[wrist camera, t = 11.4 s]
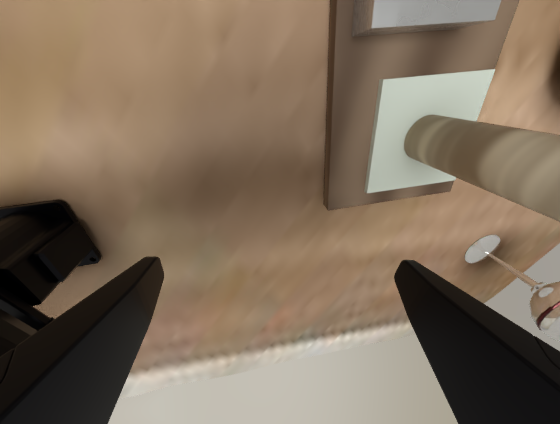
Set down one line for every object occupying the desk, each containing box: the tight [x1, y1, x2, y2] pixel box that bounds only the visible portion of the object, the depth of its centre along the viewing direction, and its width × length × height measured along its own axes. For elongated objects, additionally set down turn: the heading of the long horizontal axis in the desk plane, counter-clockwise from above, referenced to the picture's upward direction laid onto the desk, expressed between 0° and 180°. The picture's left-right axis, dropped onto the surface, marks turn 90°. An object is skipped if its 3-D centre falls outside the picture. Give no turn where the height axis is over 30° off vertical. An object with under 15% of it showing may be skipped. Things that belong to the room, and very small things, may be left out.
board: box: [324, 0, 519, 210], centre depth 16 cm, size 13×22×1 cm, turn 5°
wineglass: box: [465, 235, 560, 342], centre depth 25 cm, size 7×7×12 cm
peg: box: [404, 115, 560, 222], centre depth 12 cm, size 5×5×14 cm
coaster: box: [364, 69, 495, 193], centre depth 18 cm, size 9×9×1 cm
